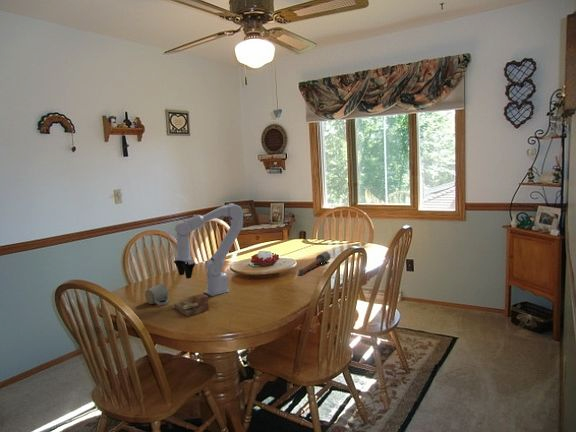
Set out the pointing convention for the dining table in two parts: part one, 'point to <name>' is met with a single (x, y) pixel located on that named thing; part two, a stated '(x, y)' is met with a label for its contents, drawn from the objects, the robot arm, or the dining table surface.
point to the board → (187, 311)
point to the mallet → (316, 262)
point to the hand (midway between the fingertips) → (185, 276)
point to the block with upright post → (199, 303)
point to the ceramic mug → (157, 295)
